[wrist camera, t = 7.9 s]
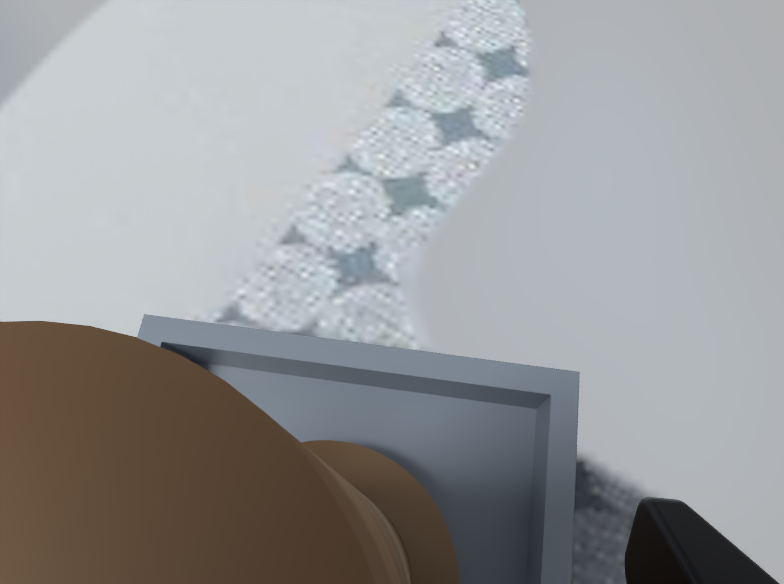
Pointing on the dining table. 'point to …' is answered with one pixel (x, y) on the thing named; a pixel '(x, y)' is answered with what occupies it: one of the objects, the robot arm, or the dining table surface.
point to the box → (423, 431)
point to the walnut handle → (186, 478)
